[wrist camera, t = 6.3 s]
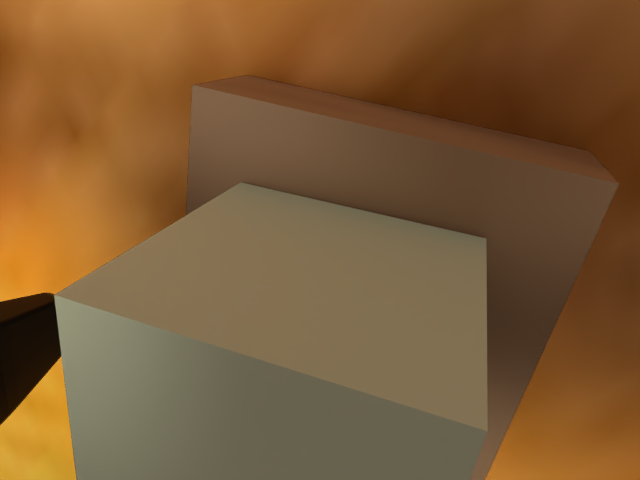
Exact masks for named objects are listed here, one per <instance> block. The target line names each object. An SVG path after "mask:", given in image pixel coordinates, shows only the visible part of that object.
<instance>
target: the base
mask: <svg viewBox="0 0 640 480" xmlns="http://www.w3.org/2000/svg"><path fill="white" fill-rule="evenodd" d="M239 183H246V184H250V185H255V186H259V187H263V188H268V189H272V190H276V191H281V192H285V193H290V194H294V195H298V196H303V197H307V198H311V199H316V200H320V201H325V202H329V203H333V204H338V205H342V206H346V207H351V208H355V209H359V210H364V211H368V212H373V213H377V214H381V215H386V216H390V217H394V218H399V219H403V220H408V221H412V222H416V223H421V224H425V225H429V226H434V227H438V228H443V229H447V230H451V231H456V232H460V233H464V234H469V235H473V236H478V237H482V238H486V250H487V413H488V432H487V434H486V437H485V440H484V442H483V445H482V448H481V451H480V453H479V456H478V459H477V462H476V464H475V467H474V470H473V473H472V475H471V478H470V480H485V478H486V476H487V474H488V472H489V469H490V467H491V465H492V463H493V461H494V458H495V456H496V454H497V452H498V450H499V447H500V445H501V443H502V441H503V439H504V436H505V434H506V432H507V430H508V428H509V425H510V423H511V421H512V419H513V417H514V414H515V412H516V410H517V408H518V406H519V403H520V401H521V399H522V397H523V395H524V392H525V390H526V388H527V386H528V384H529V381H530V379H531V377H532V375H533V373H534V370H535V368H536V366H537V364H538V362H539V359H540V357H541V355H542V353H543V351H544V348H545V346H546V344H547V342H548V340H549V337H550V335H551V333H552V331H553V329H554V326H555V324H556V322H557V320H558V318H559V315H560V313H561V311H562V309H563V307H564V304H565V302H566V300H567V298H568V296H569V293H570V291H571V289H572V287H573V285H574V282H575V280H576V278H577V276H578V274H579V271H580V269H581V267H582V265H583V263H584V260H585V258H586V256H587V254H588V252H589V249H590V247H591V245H592V243H593V241H594V238H595V236H596V234H597V232H598V230H599V227H600V225H601V223H602V221H603V219H604V216H605V214H606V212H607V210H608V208H609V205H610V203H611V201H612V199H613V197H614V195H615V192H616V190H617V188H618V186H619V183H618V182H617V181H616V180H615V179H614V177H613V176H612V175H611V174H610V173H609V172H608V171H607V170H606V169H605V167H604V166H603V165H602V164H601V163H600V162H599V161H598V160H597V159H596V157H595V156H594V155H593V154H592V153H591V152H590V151H587V150H583V149H578V148H574V147H569V146H565V145H560V144H556V143H551V142H547V141H542V140H538V139H533V138H529V137H524V136H520V135H515V134H511V133H506V132H502V131H497V130H493V129H488V128H484V127H479V126H475V125H470V124H466V123H461V122H457V121H452V120H448V119H443V118H439V117H434V116H430V115H425V114H421V113H416V112H412V111H407V110H403V109H398V108H394V107H389V106H385V105H380V104H376V103H371V102H367V101H362V100H358V99H353V98H349V97H344V96H340V95H335V94H331V93H326V92H322V91H317V90H313V89H309V88H304V87H300V86H295V85H291V84H286V83H282V82H277V81H273V80H268V79H264V78H259V77H255V76H250V75H245V76H240V77H234V78H228V79H223V80H217V81H211V82H206V83H200V84H194V85H192V99H191V120H190V140H189V161H188V182H187V202H186V215H188V214H189V213H191V212H193V211H194V210H196V209H198V208H199V207H201V206H202V205H204V204H206V203H207V202H209V201H211V200H212V199H214V198H216V197H217V196H219V195H221V194H222V193H224V192H226V191H227V190H229V189H231V188H232V187H234V186H236V185H237V184H239Z"/></svg>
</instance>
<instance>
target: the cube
mask: <svg viewBox="0 0 640 480" xmlns="http://www.w3.org/2000/svg"><path fill="white" fill-rule="evenodd" d="M54 298H55V307H56V315H57V323H58V331H59V339H60V347H61V356H62V364H63V372H64V380H65V388H66V396H67V405H68V413H69V421H70V429H71V437H72V445H73V454H74V462H75V470H76V478H77V480H470V478H471V475H472V473H473V470H474V467H475V464H476V462H477V459H478V456H479V453H480V451H481V448H482V445H483V442H484V440H485V437H486V434H487V432H488V413H487V250H486V238H482V237H478V236H473V235H469V234H464V233H460V232H456V231H451V230H447V229H443V228H438V227H434V226H429V225H425V224H421V223H416V222H412V221H408V220H403V219H399V218H394V217H390V216H386V215H381V214H377V213H373V212H368V211H364V210H359V209H355V208H351V207H346V206H342V205H338V204H333V203H329V202H325V201H320V200H316V199H311V198H307V197H303V196H298V195H294V194H290V193H285V192H281V191H276V190H272V189H268V188H263V187H259V186H255V185H250V184H246V183H239V184H237V185H236V186H234V187H232V188H231V189H229V190H227V191H226V192H224V193H222V194H221V195H219V196H217V197H216V198H214V199H212V200H211V201H209V202H207V203H206V204H204V205H202V206H201V207H199V208H198V209H196V210H194V211H193V212H191V213H189V214H188V215H186V216H184V217H183V218H181V219H179V220H178V221H176V222H174V223H173V224H171V225H169V226H168V227H166V228H164V229H163V230H161V231H159V232H158V233H156V234H154V235H153V236H151V237H149V238H148V239H146V240H144V241H143V242H141V243H139V244H138V245H136V246H135V247H133V248H131V249H130V250H128V251H126V252H125V253H123V254H121V255H120V256H118V257H116V258H115V259H113V260H111V261H110V262H108V263H106V264H105V265H103V266H101V267H100V268H98V269H96V270H95V271H93V272H91V273H90V274H88V275H86V276H85V277H83V278H81V279H80V280H78V281H76V282H75V283H73V284H71V285H70V286H68V287H67V288H65V289H63V290H62V291H60V292H58V293H57V294H55V295H54Z"/></svg>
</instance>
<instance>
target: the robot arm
mask: <svg viewBox="0 0 640 480" xmlns="http://www.w3.org/2000/svg"><path fill="white" fill-rule="evenodd" d="M54 295H55V294H52V293H41V294H36V295H31V296H26V297H21V298H17V299H12V300H7V301H2V302H0V425H1V424H2V423H3V422H4V421H5V420H6V419H7V418H8V417H9V416H10V415H11V413H12V412H13V411H14V410H15V409H16V408H17V407H18V406H19V405H20V403H21V402H22V401H23V400H24V399H25V398H26V397H27V395H28V394H29V393H30V392H31V391H32V390H33V388H34V387H35V386H36V385H37V384H38V383H39V381H40V380H41V379H42V378H43V377H44V376H45V374H46V373H47V372H48V371H49V370H50V369H51V367H52V366H53V365H54V364H55V363H56V362H57V360H58V359H59V358H60V357H61V347H60V339H59V331H58V323H57V315H56V307H55V298H54Z"/></svg>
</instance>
